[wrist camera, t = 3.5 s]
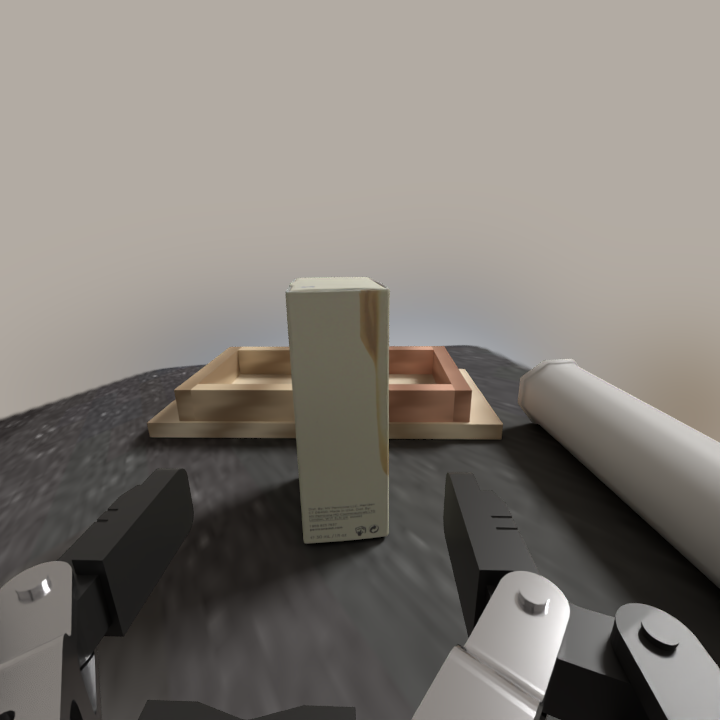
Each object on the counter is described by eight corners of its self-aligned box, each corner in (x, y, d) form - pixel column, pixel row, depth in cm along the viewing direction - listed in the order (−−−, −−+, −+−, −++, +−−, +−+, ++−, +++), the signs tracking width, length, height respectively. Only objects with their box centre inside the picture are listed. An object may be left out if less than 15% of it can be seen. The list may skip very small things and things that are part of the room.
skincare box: (391, 540, 19) (395, 288, 15) (301, 549, 18) (282, 291, 15) (372, 466, 25) (372, 273, 21) (305, 471, 24) (292, 274, 21)
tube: (1508, 1025, 7) (588, 407, 30) (1766, 899, 5) (577, 347, 29) (1198, 1111, 7) (524, 430, 31) (1341, 1018, 5) (509, 372, 29)
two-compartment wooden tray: (149, 437, 29) (140, 391, 28) (213, 380, 40) (208, 346, 39) (501, 439, 28) (506, 392, 27) (464, 380, 39) (466, 345, 38)
